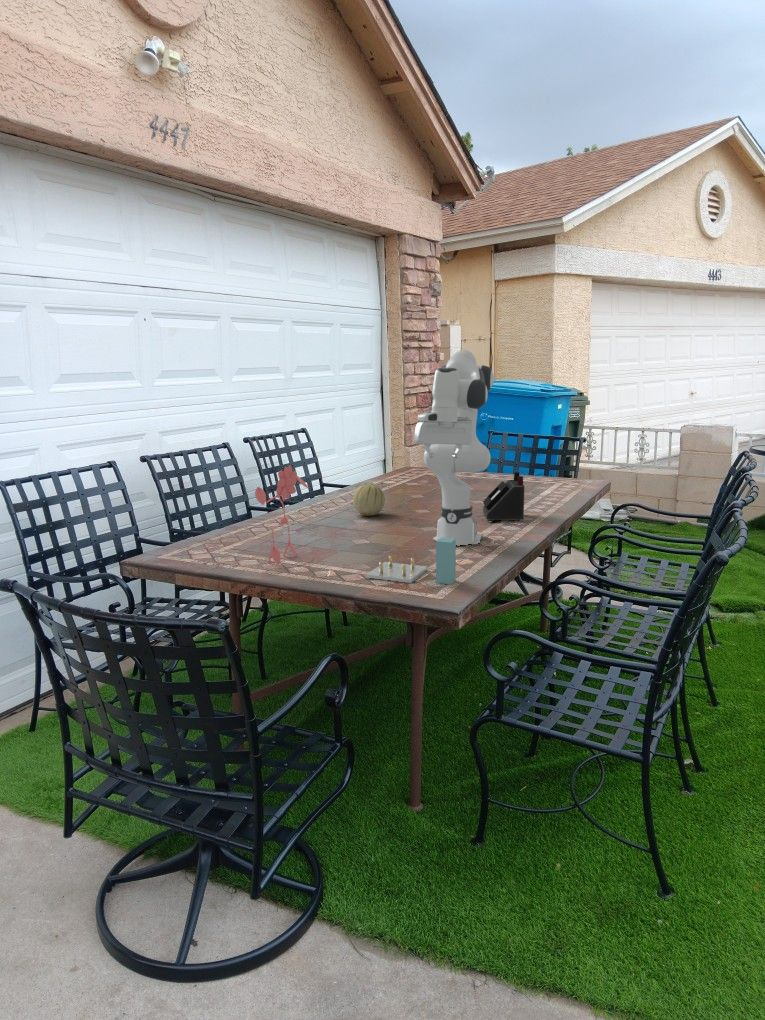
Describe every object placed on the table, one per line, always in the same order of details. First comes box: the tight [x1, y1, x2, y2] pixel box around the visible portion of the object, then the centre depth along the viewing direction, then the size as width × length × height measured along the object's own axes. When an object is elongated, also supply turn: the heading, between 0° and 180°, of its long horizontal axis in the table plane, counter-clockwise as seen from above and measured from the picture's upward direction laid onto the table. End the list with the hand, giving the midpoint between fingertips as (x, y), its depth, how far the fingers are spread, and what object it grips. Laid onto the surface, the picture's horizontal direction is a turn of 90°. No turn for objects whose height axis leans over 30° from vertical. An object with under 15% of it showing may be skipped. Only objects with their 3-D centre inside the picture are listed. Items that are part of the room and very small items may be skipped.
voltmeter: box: [482, 471, 525, 523], centre depth 324 cm, size 16×16×20 cm
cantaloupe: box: [352, 482, 386, 517], centre depth 335 cm, size 15×15×15 cm
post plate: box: [365, 555, 428, 584], centre depth 248 cm, size 16×16×5 cm
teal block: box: [435, 538, 457, 585], centre depth 238 cm, size 5×5×14 cm
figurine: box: [254, 464, 314, 567], centre depth 261 cm, size 15×26×35 cm, turn 151°
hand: (442, 457), depth 246 cm, fingers open, 8 cm apart
